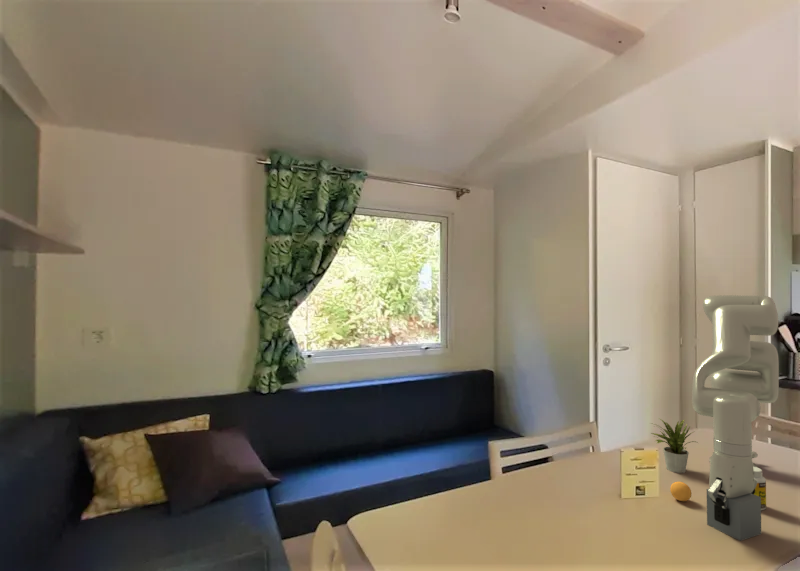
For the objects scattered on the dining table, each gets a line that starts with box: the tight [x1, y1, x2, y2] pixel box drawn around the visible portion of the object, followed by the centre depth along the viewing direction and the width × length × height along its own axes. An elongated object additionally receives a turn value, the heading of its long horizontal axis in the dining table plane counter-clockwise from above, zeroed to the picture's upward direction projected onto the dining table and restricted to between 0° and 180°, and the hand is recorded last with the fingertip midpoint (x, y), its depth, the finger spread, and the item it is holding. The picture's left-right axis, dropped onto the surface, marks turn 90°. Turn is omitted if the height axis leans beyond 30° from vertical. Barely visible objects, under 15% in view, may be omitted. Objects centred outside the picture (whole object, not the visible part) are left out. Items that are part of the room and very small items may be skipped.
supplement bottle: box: [753, 466, 767, 511], centre depth 119 cm, size 6×6×10 cm
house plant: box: [650, 418, 699, 474], centre depth 144 cm, size 14×14×16 cm
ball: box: [669, 481, 692, 502], centre depth 122 cm, size 5×5×5 cm
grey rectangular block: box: [706, 487, 762, 542], centre depth 108 cm, size 8×8×9 cm
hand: (733, 518), depth 108 cm, fingers closed on grey rectangular block, 7 cm apart
